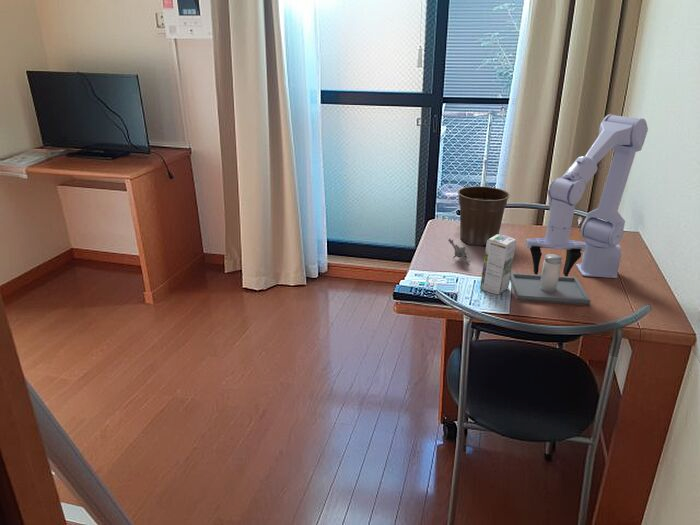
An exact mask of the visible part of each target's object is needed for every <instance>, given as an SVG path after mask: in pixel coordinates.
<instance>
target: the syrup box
mask: <svg viewBox="0 0 700 525" xmlns="http://www.w3.org/2000/svg"><path fill="white" fill-rule="evenodd" d="M516 243H517V239H515V238H513V237H510V236H507V235H503V234H499V235H498V234H497V235H495V236H493V237H492V238H490V239H488V240H487V244H486V246H485V250H484V251H485V252H484V257H483V259H484V260H483V266H482V272H481V278H480V279H481V280H480V286H479V288H480V290H482V291H486V292H489V293H492V294H496V295H498V296H499V295H501V294H503V293H504V292H505V291H506V290H507V289H509V287H510V286H509V285H510V282H511V281H510V275H511V273H512V269H513V262H514V256H515V251H516V245H517V244H516Z"/></svg>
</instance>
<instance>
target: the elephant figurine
mask: <svg viewBox="0 0 700 525" xmlns="http://www.w3.org/2000/svg"><path fill="white" fill-rule="evenodd" d="M454 240H455V239H451V238H448V242H449V244H451V245H452V247H453V249H454V256H453V257H452V258H453V259H455V258H461V259H462V260H463V261H464V263H465V265H466V266H470V262H471V260H467V258H466V257H465V256H467V254H468V252H467V251H466V250H467V249H468V247H466V244H463V245H462V246H461V247H460V246H459V245H457V244H455V243H454Z"/></svg>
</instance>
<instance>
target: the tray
mask: <svg viewBox="0 0 700 525" xmlns="http://www.w3.org/2000/svg"><path fill="white" fill-rule="evenodd" d="M540 279H541V274H538V275H537V274H534V273H533V274H532V273H521V272H520V273H518V272H511V275H510V281H509V282H510V284H511V287H512V289H513V293H514V296H515V298H516V301H519V300H520V301H519V302H536V303H537V302H538V303H548V304H550V303H551V304H563V305H579V306H590V305H591V299H590V296H589V295H588V293H587V292H586V290H585V289H584V287H583V285H582V284H581V283H580V281H579V279H578V278H577V276H569V275H568V276H564V275H559V278H558V283H557V288H556V291H555V292H545V291H542V290H541V289H539V284H540Z"/></svg>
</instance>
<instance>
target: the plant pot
mask: <svg viewBox="0 0 700 525" xmlns="http://www.w3.org/2000/svg"><path fill="white" fill-rule="evenodd" d="M457 195H458V204H459V209H460V210H459V215H460V216H459V218H460V219H459V220H460V222H459V225H460V226H459V228H460V229H459V236H460V237H459V238H460V240H462V242H464V244H468V245H471V246H480V247H482V246H483V247H484V246H485V245H486V244H487V240H488V239H490V238H492V237H493V236H495V235H497V234H498V235H500V230H501V225H502V222H503V216H504V212H505V209H506V207H507V203H508V199H510V197H511V196H510V195H511V194H510V193H509V192H508V191H506V190H505V189H504V190H503V189H501V188H497V187H491V186H481V185H480V186H478V185H477V186H474V185H473V186H465V187H462V188H460V189H458V190H457Z"/></svg>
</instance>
